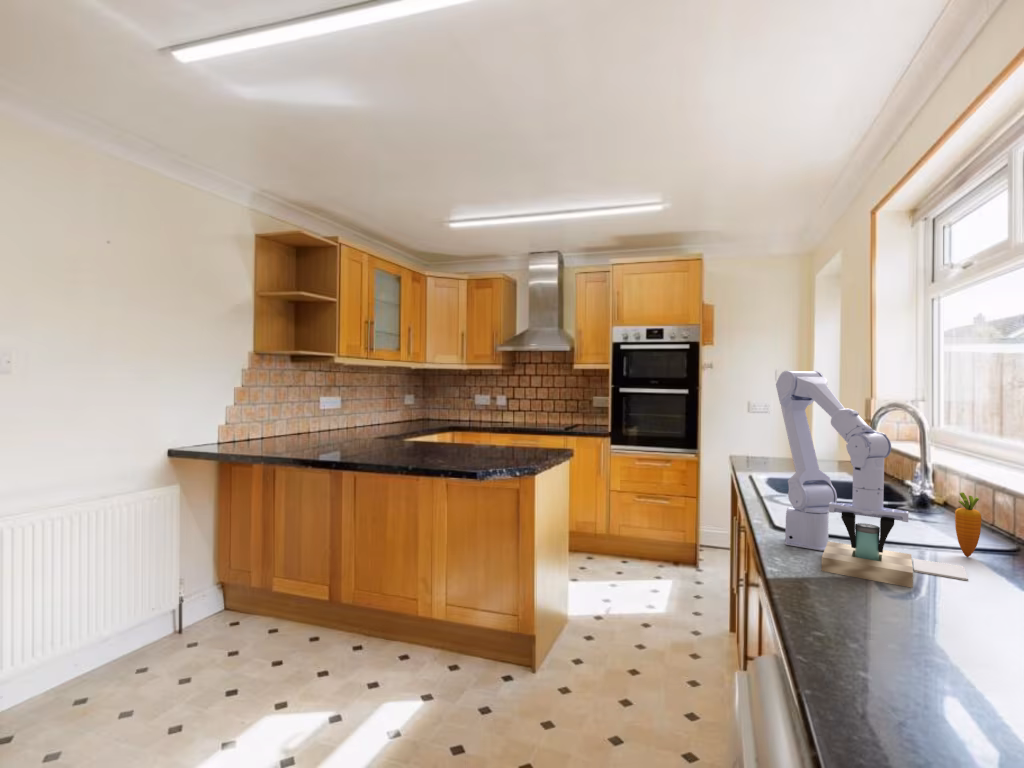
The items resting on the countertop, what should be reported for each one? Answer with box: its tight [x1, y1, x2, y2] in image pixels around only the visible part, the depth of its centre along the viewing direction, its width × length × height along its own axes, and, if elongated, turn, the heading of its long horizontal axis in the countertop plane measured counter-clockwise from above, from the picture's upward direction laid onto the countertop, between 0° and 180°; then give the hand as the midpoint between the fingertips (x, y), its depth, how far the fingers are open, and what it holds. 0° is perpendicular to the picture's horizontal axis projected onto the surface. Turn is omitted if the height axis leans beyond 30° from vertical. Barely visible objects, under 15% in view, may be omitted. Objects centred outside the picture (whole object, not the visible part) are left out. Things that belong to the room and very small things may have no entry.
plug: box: [855, 522, 880, 561], centre depth 119 cm, size 4×4×9 cm
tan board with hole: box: [821, 540, 914, 589], centre depth 119 cm, size 16×14×3 cm
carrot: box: [954, 491, 982, 558], centre depth 128 cm, size 5×5×15 cm
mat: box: [912, 557, 969, 582], centre depth 119 cm, size 9×9×1 cm
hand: (866, 549), depth 119 cm, fingers closed on plug, 4 cm apart
